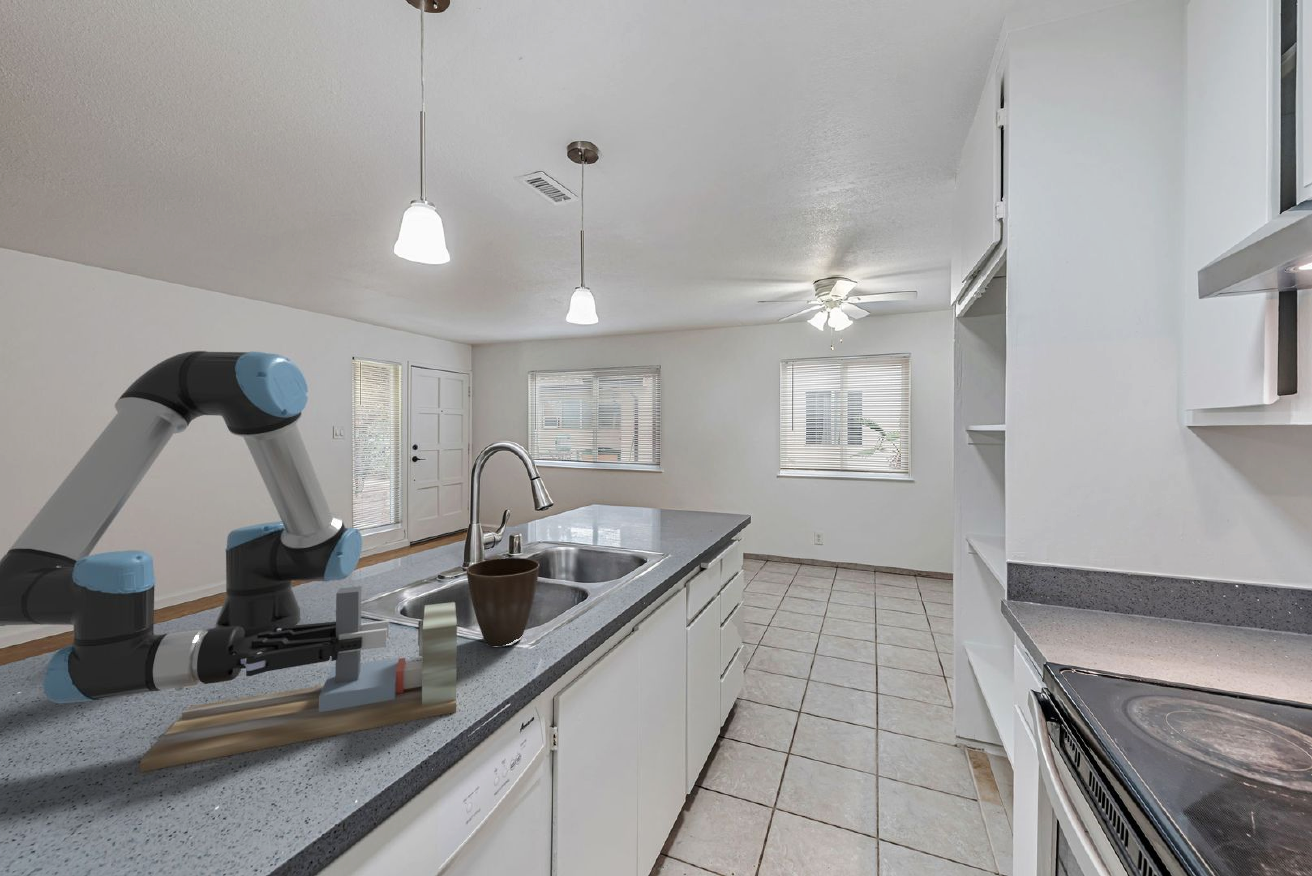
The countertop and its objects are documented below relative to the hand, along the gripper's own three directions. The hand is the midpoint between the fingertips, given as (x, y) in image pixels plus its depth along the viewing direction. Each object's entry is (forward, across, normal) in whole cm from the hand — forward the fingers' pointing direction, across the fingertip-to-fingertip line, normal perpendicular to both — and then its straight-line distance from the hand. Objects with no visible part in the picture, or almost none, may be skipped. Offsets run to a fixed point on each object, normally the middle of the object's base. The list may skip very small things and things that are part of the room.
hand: (387, 633), depth 82 cm
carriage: (-3, 0, -9) cm, 9 cm away
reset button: (+5, 0, -10) cm, 11 cm away
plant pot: (+20, -19, -12) cm, 30 cm away
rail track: (-9, 0, -12) cm, 14 cm away
